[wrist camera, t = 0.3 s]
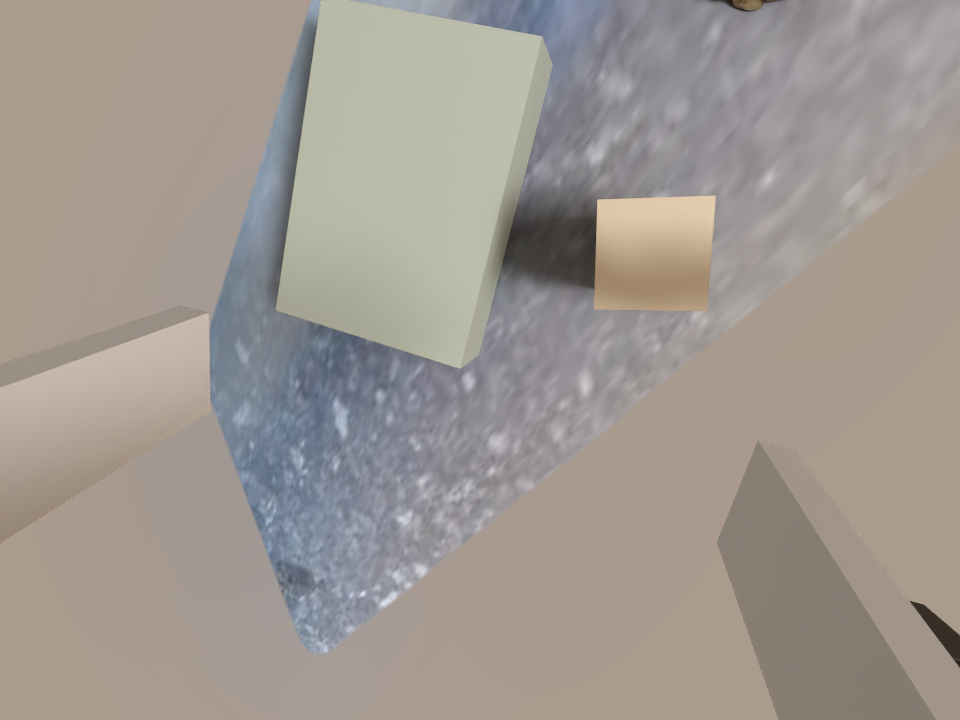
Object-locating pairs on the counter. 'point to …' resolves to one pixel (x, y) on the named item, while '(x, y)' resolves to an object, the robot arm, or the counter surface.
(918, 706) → the robot arm
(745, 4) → the bread roll
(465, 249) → the block
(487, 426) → the counter surface
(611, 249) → the birch block
